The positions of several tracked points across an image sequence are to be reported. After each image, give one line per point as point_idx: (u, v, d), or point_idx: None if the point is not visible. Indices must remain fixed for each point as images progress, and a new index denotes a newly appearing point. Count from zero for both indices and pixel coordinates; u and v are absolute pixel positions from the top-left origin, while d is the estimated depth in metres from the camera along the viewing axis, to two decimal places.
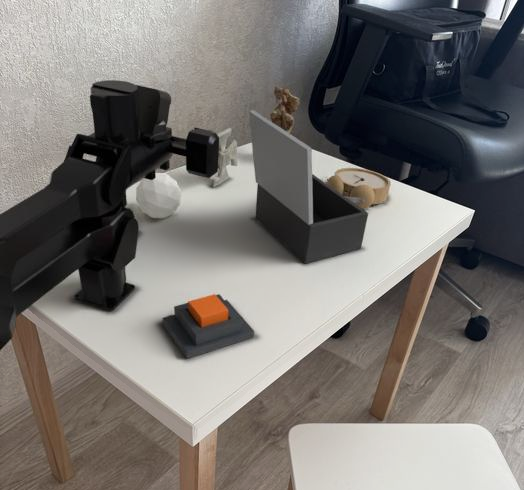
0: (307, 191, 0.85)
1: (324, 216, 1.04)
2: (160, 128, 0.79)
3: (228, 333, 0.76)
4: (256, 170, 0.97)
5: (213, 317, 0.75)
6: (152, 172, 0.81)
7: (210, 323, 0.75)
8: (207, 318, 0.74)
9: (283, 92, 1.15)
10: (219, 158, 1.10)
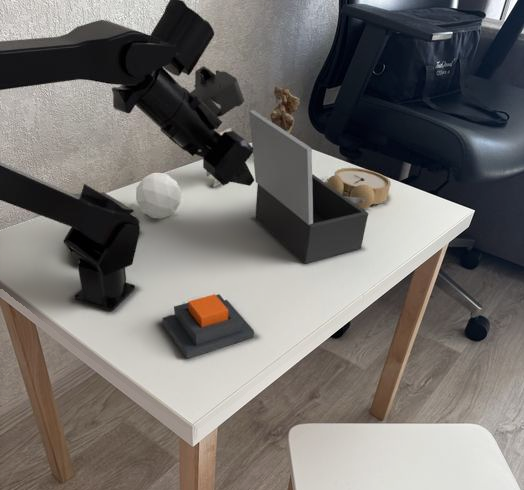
0: (307, 191, 0.85)
1: (324, 216, 1.04)
2: (212, 106, 0.75)
3: (228, 333, 0.76)
4: (256, 170, 0.97)
5: (213, 317, 0.75)
6: (173, 127, 0.74)
7: (210, 323, 0.75)
8: (207, 318, 0.74)
9: (283, 91, 1.15)
10: None
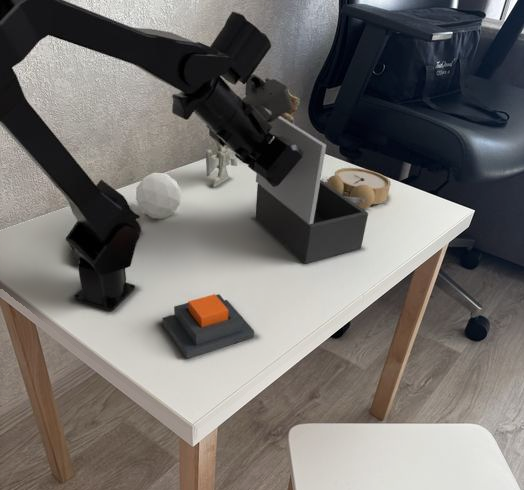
0: (314, 189, 0.85)
1: (324, 216, 1.04)
2: (264, 112, 0.80)
3: (228, 333, 0.76)
4: None
5: (213, 317, 0.75)
6: (227, 132, 0.79)
7: (210, 323, 0.75)
8: (207, 318, 0.74)
9: None
10: (219, 158, 1.10)
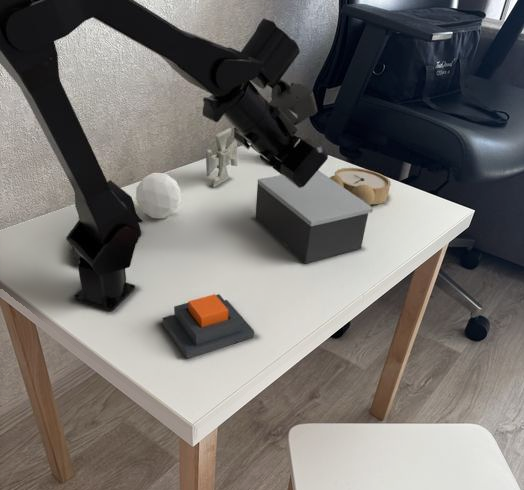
0: (340, 214, 0.91)
1: None
2: (290, 115, 0.82)
3: (228, 333, 0.76)
4: (272, 178, 1.00)
5: (213, 317, 0.75)
6: (255, 135, 0.81)
7: (210, 323, 0.75)
8: (207, 318, 0.74)
9: None
10: (219, 158, 1.10)
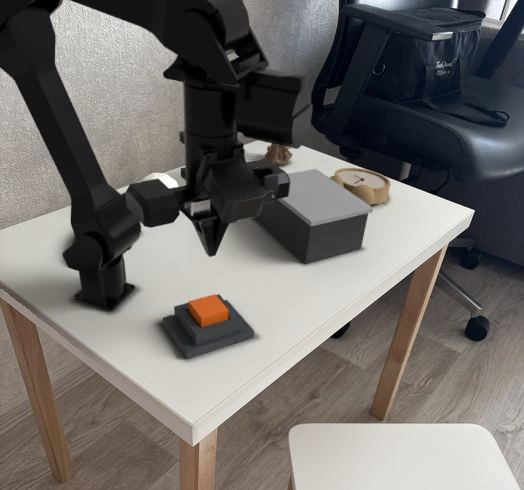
0: (340, 214, 0.91)
1: None
2: (206, 178, 0.60)
3: (228, 333, 0.76)
4: None
5: (213, 317, 0.75)
6: (183, 137, 0.62)
7: (210, 323, 0.75)
8: (207, 318, 0.74)
9: None
10: None
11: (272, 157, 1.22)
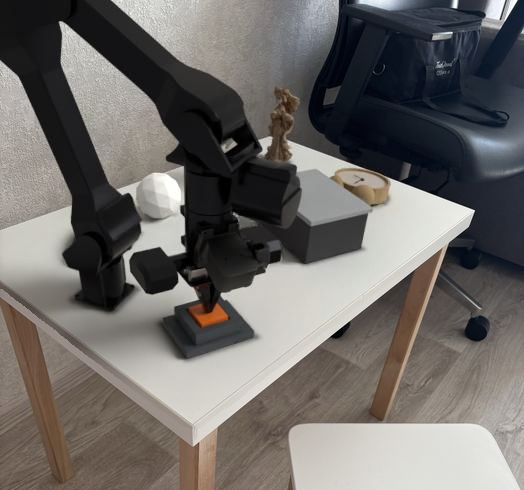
0: (340, 214, 0.91)
1: None
2: (204, 251, 0.65)
3: (228, 333, 0.76)
4: None
5: (213, 323, 0.75)
6: (183, 211, 0.67)
7: None
8: (207, 324, 0.75)
9: (283, 91, 1.15)
10: None
11: (272, 157, 1.22)
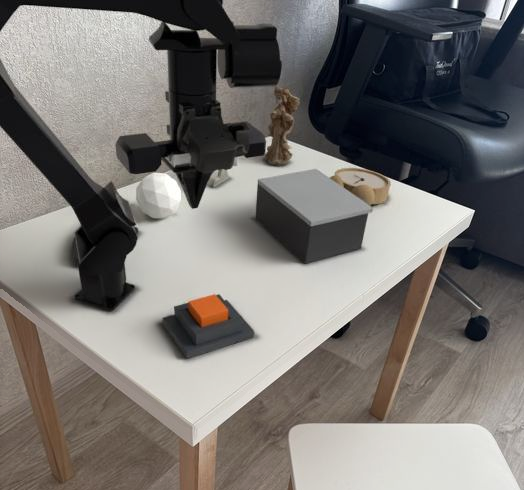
0: (340, 214, 0.91)
1: None
2: (185, 132, 0.68)
3: (228, 333, 0.76)
4: (272, 178, 1.00)
5: (213, 317, 0.75)
6: (168, 96, 0.70)
7: (210, 323, 0.75)
8: (207, 318, 0.74)
9: (283, 91, 1.15)
10: None
11: (272, 157, 1.22)
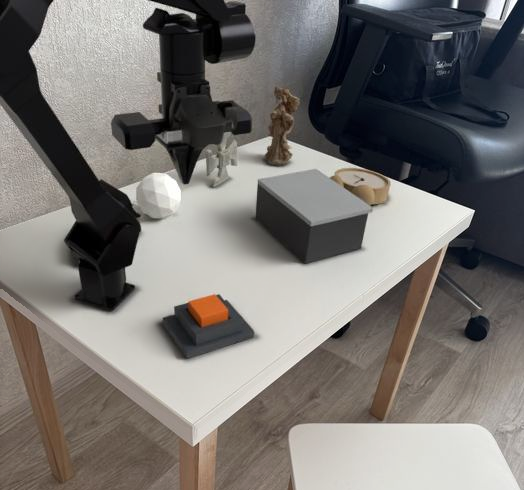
0: (340, 214, 0.91)
1: None
2: (177, 109, 0.72)
3: (228, 333, 0.76)
4: (272, 178, 1.00)
5: (213, 317, 0.75)
6: (160, 76, 0.74)
7: (210, 323, 0.75)
8: (207, 318, 0.74)
9: (283, 92, 1.15)
10: (219, 158, 1.10)
11: (272, 157, 1.22)
